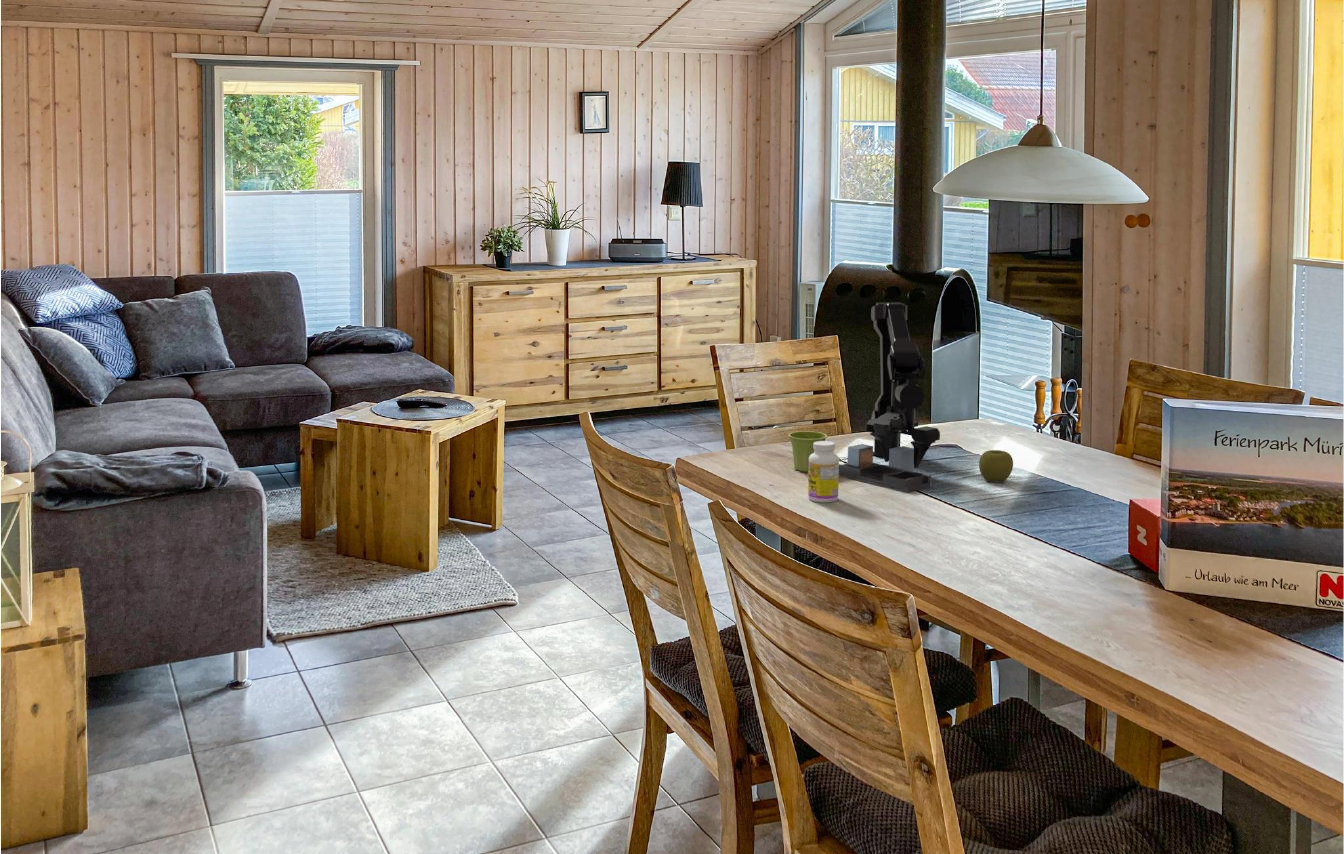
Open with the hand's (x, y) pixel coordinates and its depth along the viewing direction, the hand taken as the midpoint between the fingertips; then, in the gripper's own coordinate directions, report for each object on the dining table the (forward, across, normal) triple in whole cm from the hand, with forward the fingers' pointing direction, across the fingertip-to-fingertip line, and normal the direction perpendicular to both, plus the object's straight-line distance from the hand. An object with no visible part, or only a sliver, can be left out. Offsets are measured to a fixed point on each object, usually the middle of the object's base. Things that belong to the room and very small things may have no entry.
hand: (901, 464), depth 290 cm
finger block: (+2, 0, 0) cm, 2 cm away
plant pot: (+2, -17, -15) cm, 23 cm away
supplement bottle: (+2, +6, -33) cm, 34 cm away
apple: (+2, +20, +10) cm, 23 cm away
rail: (+2, +3, -10) cm, 11 cm away
